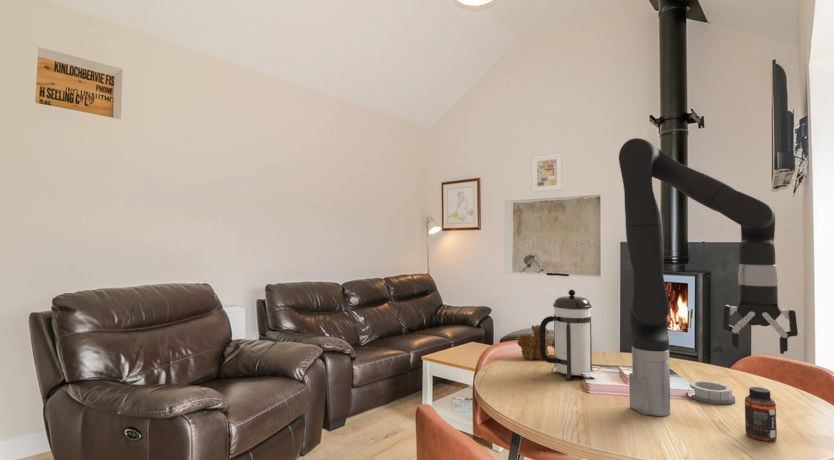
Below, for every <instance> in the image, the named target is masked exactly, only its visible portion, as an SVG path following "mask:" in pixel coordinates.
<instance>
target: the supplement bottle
mask: <svg viewBox="0 0 834 460" xmlns="http://www.w3.org/2000/svg"><path fill="white" fill-rule="evenodd" d="M748 393H749V395H747V396H745V397H744V422H745V423H744V425H745V427H744V428H745V434H746V435H747V436H748V437H750V438H752V439H753V440H756V441H760V442H761V441H762V442H775V441H776V440H777V437H778V435H777V434H778V432H777V431H778V430H777V411H776V410H777V408H776V407H777V406H776V405H777V404H776V402H775V400H774V399H772V398H771V391H770V390H769V389H767V388H766V387H765V388H764V387H758V386H751V387H749V391H748Z"/></svg>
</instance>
